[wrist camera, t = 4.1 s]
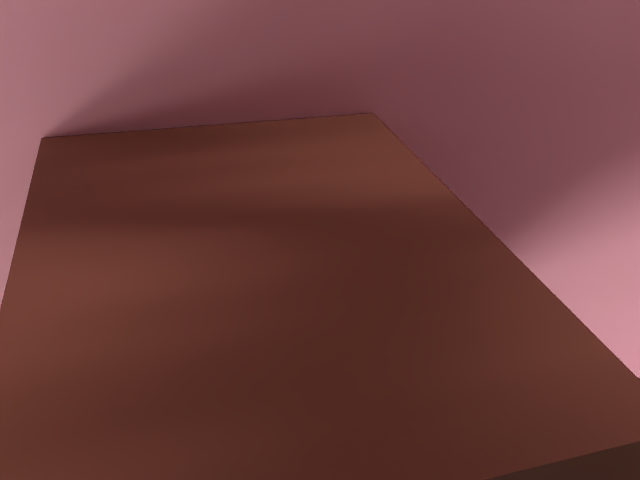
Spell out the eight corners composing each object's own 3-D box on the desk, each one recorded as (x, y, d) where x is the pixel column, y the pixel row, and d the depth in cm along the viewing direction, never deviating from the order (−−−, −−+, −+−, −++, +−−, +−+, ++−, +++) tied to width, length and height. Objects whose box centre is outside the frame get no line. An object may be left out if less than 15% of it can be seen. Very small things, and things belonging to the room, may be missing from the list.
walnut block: (98, 390, 10) (88, 887, 5) (41, 137, 8) (-75, 617, 3) (354, 345, 11) (539, 720, 6) (373, 113, 9) (688, 430, 4)
